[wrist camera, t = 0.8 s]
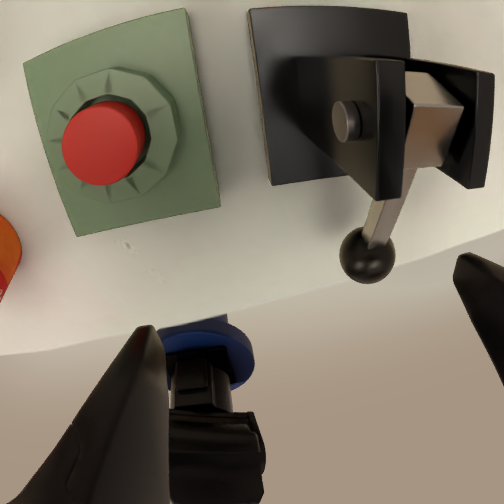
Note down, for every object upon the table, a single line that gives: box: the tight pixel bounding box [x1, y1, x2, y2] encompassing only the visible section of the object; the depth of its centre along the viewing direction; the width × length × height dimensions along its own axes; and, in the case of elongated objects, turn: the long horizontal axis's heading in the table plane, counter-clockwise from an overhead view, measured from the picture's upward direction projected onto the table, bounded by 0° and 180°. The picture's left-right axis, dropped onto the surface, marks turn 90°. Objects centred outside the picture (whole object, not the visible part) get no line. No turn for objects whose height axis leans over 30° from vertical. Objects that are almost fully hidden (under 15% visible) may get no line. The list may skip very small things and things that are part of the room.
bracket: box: [247, 6, 495, 201], centre depth 12 cm, size 10×9×10 cm
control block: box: [23, 8, 221, 237], centre depth 15 cm, size 11×9×4 cm
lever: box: [339, 71, 464, 284], centre depth 14 cm, size 12×3×3 cm, turn 7°
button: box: [62, 101, 145, 186], centre depth 13 cm, size 4×4×2 cm
